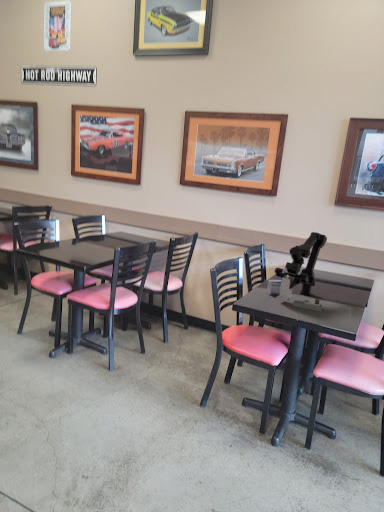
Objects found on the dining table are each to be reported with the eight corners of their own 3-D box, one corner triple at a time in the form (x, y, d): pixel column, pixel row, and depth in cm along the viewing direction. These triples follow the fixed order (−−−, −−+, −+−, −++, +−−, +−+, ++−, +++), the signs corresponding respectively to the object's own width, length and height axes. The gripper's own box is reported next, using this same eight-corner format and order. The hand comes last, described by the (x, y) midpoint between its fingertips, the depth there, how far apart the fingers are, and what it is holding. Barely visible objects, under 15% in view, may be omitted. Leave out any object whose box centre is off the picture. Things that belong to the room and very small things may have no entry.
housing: (282, 296, 213) (285, 273, 210) (291, 298, 210) (294, 275, 207) (278, 298, 209) (282, 275, 206) (287, 300, 206) (290, 277, 203)
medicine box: (269, 295, 225) (271, 281, 223) (266, 292, 229) (268, 279, 227) (281, 295, 227) (283, 281, 226) (277, 292, 232) (279, 279, 230)
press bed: (277, 296, 224) (278, 291, 223) (321, 304, 216) (322, 299, 215) (274, 305, 208) (274, 299, 207) (320, 314, 200) (321, 308, 199)
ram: (304, 305, 208) (305, 296, 207) (319, 307, 206) (320, 299, 205) (303, 307, 205) (304, 298, 204) (318, 310, 202) (320, 301, 201)
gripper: (278, 253, 213) (266, 275, 207) (309, 260, 202) (299, 283, 196) (282, 265, 221) (271, 286, 215) (312, 272, 210) (302, 294, 204)
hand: (285, 287), depth 207 cm, fingers closed on housing, 5 cm apart
